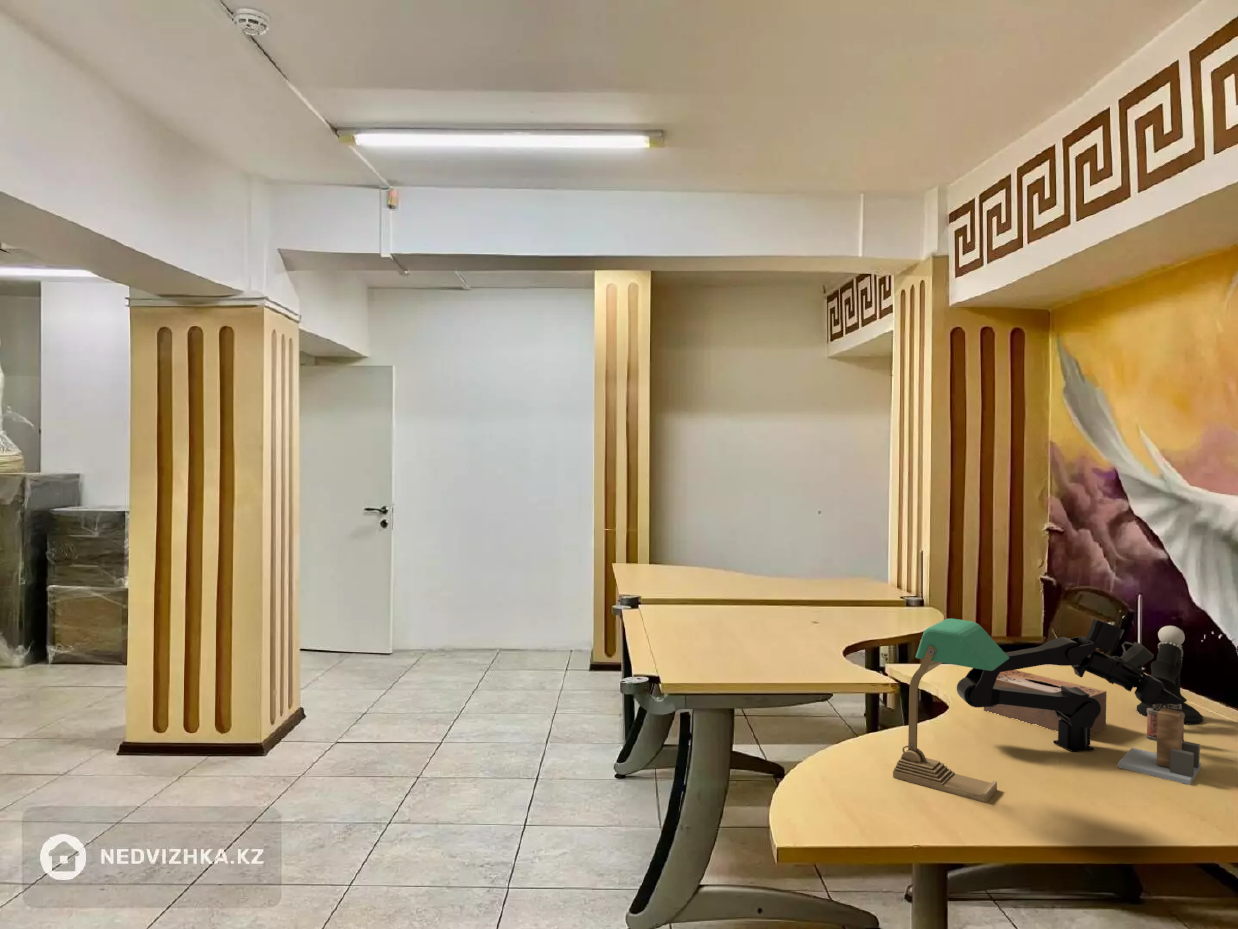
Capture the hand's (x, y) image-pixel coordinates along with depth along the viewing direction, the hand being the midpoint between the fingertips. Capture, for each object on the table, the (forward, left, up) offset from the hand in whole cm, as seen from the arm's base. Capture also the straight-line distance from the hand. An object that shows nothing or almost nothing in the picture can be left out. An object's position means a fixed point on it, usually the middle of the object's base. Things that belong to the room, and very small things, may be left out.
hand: (1172, 695), depth 191 cm
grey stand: (-10, -6, -14) cm, 19 cm away
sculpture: (+22, +23, -15) cm, 35 cm away
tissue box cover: (-12, +28, -15) cm, 34 cm away
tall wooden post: (-9, -8, -13) cm, 18 cm away
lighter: (+7, +8, -15) cm, 18 cm away
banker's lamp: (-65, -7, -15) cm, 67 cm away
